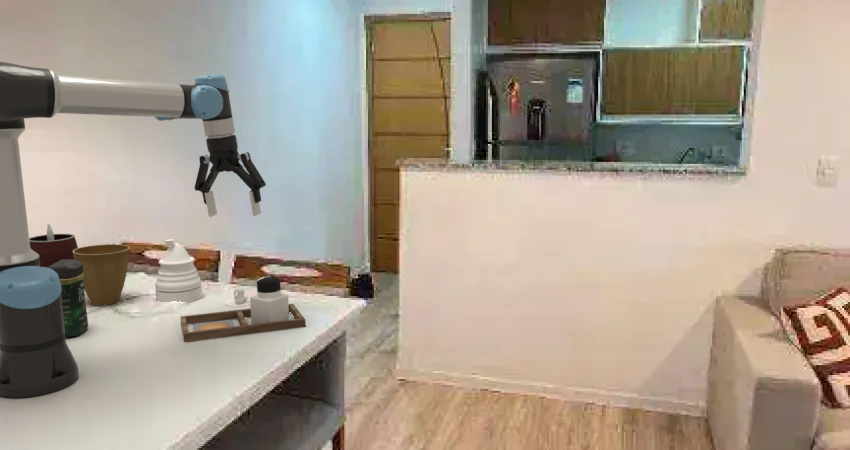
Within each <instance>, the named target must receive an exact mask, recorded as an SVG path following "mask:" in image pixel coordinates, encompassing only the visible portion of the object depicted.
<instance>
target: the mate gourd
mask: <svg viewBox="0 0 850 450" xmlns="http://www.w3.org/2000/svg"><path fill="white" fill-rule="evenodd" d="M46 226H47V228H46V234H40V235H35V236H32V237H29V242H30V248H31V249H32V250H33V251H34V252H36V253H37V254H39V258H40V267H46V268H47V267H49V266H51V265H53V264H55V263H57V262H59V261H60V260H66V259H74V256H73V250H74V249H77V248H79V247H78V243H77V240H76V236H75V234H71V233H54V231H53V229H52V226H51V224H49V223H48V224H47V225H46Z"/></svg>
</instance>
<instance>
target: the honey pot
mask: <svg viewBox="0 0 850 450" xmlns="http://www.w3.org/2000/svg"><path fill="white" fill-rule="evenodd" d="M164 243H165V245H166V246H167V247H168V248H167V250H166V252H165V253H164V255H163V258H161V259H160V260H158V264H159V265H160V267H159V270H158V272H157V274H158V275H157V278H156V280H155V285H154V286H155V301H156V300H157V301H160V302H171V301H177V302H179V301H181V302H187V303H186V304H188V303H189V304H190V303H193V302H196V301H199V300H200V299H201V298H203V296H202V295H203V294H202V280H201V277H200V276H199V273H198V270H197V267H196V266H195V264H194V262H195V258H194V257H193V256H190V255H189V252H188V251H187V249H186V248H185V247H184V246H182V244H180V243H177V242H175V239H171V238H170V239H165V240H164ZM157 301H156V302H157Z"/></svg>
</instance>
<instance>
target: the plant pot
mask: <svg viewBox="0 0 850 450" xmlns="http://www.w3.org/2000/svg"><path fill="white" fill-rule="evenodd" d="M130 250H131V249H130V246H129V245H125V244H117V243H115V244H114V243H112V244H111V243H109V244H107V243H106V244H94V245H86V246H82V247H78V248H77V249H74V250H73V256H74V259H77V260H78V261H80V262H81V263H82V264H83V272H84V292H85V295H86V296H87V298H88V300H89V302H90V304H91V305H93V306H109V305H114V304H116V302H117V303H119V301H120V299H121V296H122V292H123V290H124V286H125V282H126V278H127V272H128V266H129V258H130Z"/></svg>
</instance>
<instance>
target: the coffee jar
mask: <svg viewBox="0 0 850 450" xmlns="http://www.w3.org/2000/svg"><path fill="white" fill-rule="evenodd" d="M47 268H50V269H52V270H54V271H55V272H56V273H57V274H58V276H59V281H60V283H61V287H62V291H61V297H62V307H63V318H64V328H65V339H67V338H70V337H77V336H79V335H81V334H83V333H85V331H86V330H87V329H88V327H89V320H88V314H87V313H88V312H87V305H86V292H85V290H84V272H83V264H82V263H81V262H80V261H78V260H77V259H66V260H60V261H59V262H57V263H55V264H53V265H51V266H49V267H47Z"/></svg>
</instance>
